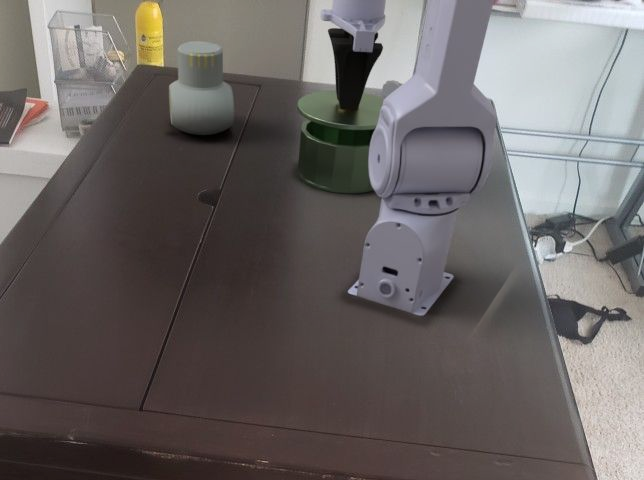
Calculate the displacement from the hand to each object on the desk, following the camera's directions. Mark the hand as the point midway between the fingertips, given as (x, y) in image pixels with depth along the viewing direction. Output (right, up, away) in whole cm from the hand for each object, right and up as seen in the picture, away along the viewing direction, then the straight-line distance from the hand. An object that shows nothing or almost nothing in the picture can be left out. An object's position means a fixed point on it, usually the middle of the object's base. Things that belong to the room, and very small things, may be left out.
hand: (347, 104), depth 88 cm
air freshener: (-19, +5, +15) cm, 25 cm away
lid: (0, -1, +1) cm, 1 cm away
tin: (0, -6, +6) cm, 9 cm away
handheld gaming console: (+9, -1, +12) cm, 15 cm away
